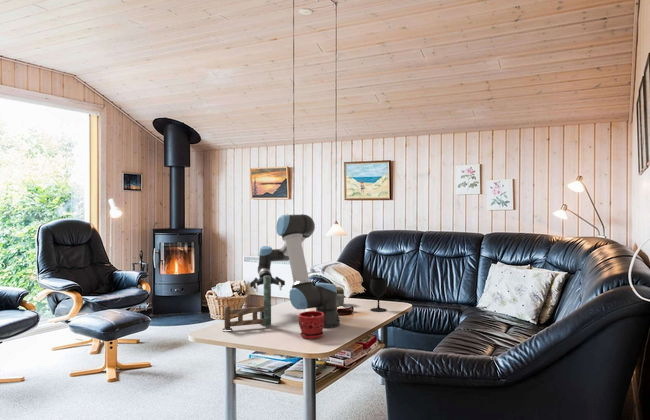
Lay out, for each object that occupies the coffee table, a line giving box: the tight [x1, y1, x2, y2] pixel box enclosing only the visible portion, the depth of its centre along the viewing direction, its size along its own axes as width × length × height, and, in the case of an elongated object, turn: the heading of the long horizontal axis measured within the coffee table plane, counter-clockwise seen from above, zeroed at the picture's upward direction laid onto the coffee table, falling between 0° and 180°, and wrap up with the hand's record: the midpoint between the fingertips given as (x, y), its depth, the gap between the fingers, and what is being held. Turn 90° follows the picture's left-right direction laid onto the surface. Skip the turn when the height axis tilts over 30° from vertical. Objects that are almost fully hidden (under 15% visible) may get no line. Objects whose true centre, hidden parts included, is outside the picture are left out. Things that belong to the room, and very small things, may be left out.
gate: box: [223, 276, 272, 329], centre depth 280 cm, size 26×4×27 cm, turn 111°
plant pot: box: [297, 310, 324, 340], centre depth 262 cm, size 13×13×12 cm
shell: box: [336, 286, 345, 295], centre depth 344 cm, size 11×11×12 cm
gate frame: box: [222, 312, 265, 331], centre depth 283 cm, size 5×27×8 cm, turn 127°
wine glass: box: [369, 277, 388, 313], centre depth 326 cm, size 10×10×20 cm
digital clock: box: [337, 293, 345, 307], centre depth 325 cm, size 16×9×11 cm, turn 86°
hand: (268, 288), depth 295 cm, fingers open, 13 cm apart
